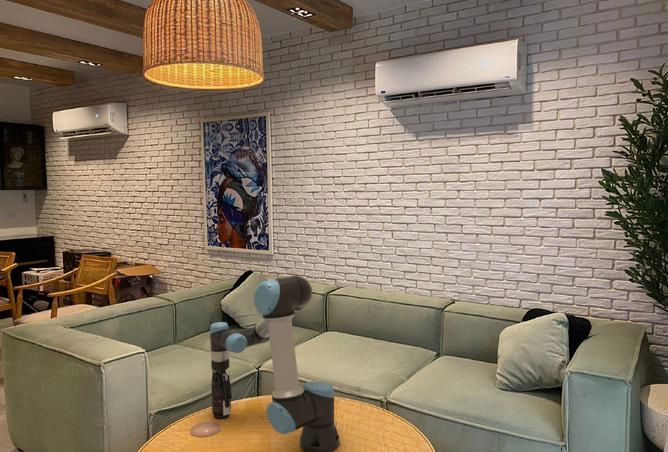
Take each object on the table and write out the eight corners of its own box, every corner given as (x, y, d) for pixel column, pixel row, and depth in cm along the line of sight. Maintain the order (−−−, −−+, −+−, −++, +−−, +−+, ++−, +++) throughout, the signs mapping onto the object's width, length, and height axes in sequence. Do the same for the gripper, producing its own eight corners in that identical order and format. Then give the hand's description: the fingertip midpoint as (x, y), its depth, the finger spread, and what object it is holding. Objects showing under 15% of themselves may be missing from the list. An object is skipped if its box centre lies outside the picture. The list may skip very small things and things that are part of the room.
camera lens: (229, 420, 210) (228, 385, 209) (210, 420, 210) (208, 385, 209) (233, 411, 218) (232, 378, 217) (215, 412, 218) (214, 378, 217)
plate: (225, 431, 200) (225, 429, 200) (195, 440, 194) (195, 438, 194) (214, 420, 210) (214, 418, 210) (186, 428, 204) (186, 426, 204)
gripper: (239, 365, 205) (240, 417, 206) (218, 350, 224) (220, 398, 226) (221, 368, 201) (223, 421, 202) (202, 353, 220) (204, 402, 222)
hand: (221, 409), depth 214 cm, fingers open, 11 cm apart
